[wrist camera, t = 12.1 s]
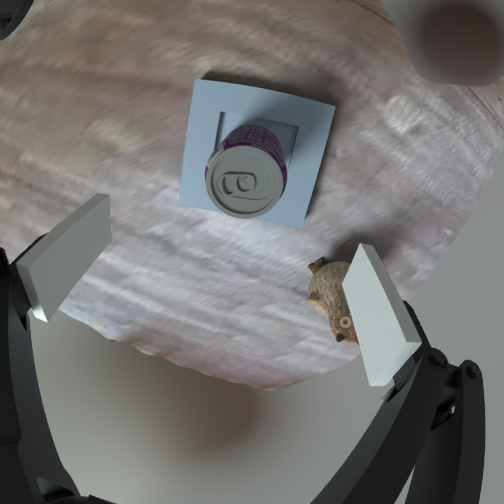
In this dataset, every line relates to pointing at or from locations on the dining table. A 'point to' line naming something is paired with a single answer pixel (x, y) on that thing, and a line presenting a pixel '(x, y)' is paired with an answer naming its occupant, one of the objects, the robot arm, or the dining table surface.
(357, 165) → the dining table surface
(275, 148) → the beverage can
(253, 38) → the dining table surface
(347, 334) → the figurine
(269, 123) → the baseplate
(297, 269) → the dining table surface
